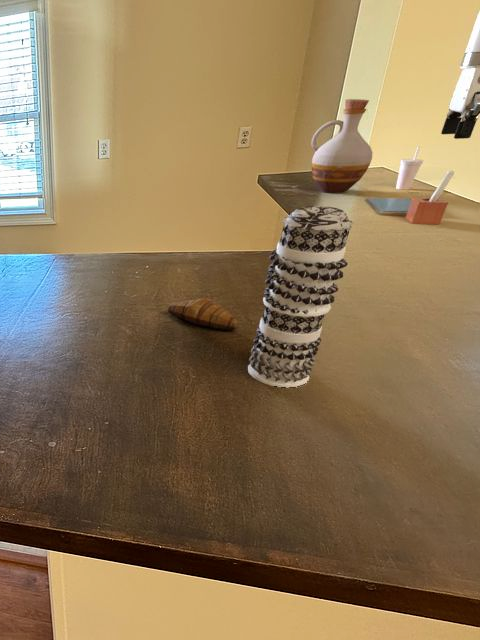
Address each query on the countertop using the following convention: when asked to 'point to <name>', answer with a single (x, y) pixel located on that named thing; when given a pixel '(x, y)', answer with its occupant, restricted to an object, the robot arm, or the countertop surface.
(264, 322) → the decorative candle
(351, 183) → the jug
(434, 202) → the pen stand
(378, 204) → the tablet
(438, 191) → the stylus
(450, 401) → the countertop surface
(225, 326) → the croissant
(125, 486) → the countertop surface
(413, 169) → the smoothie
